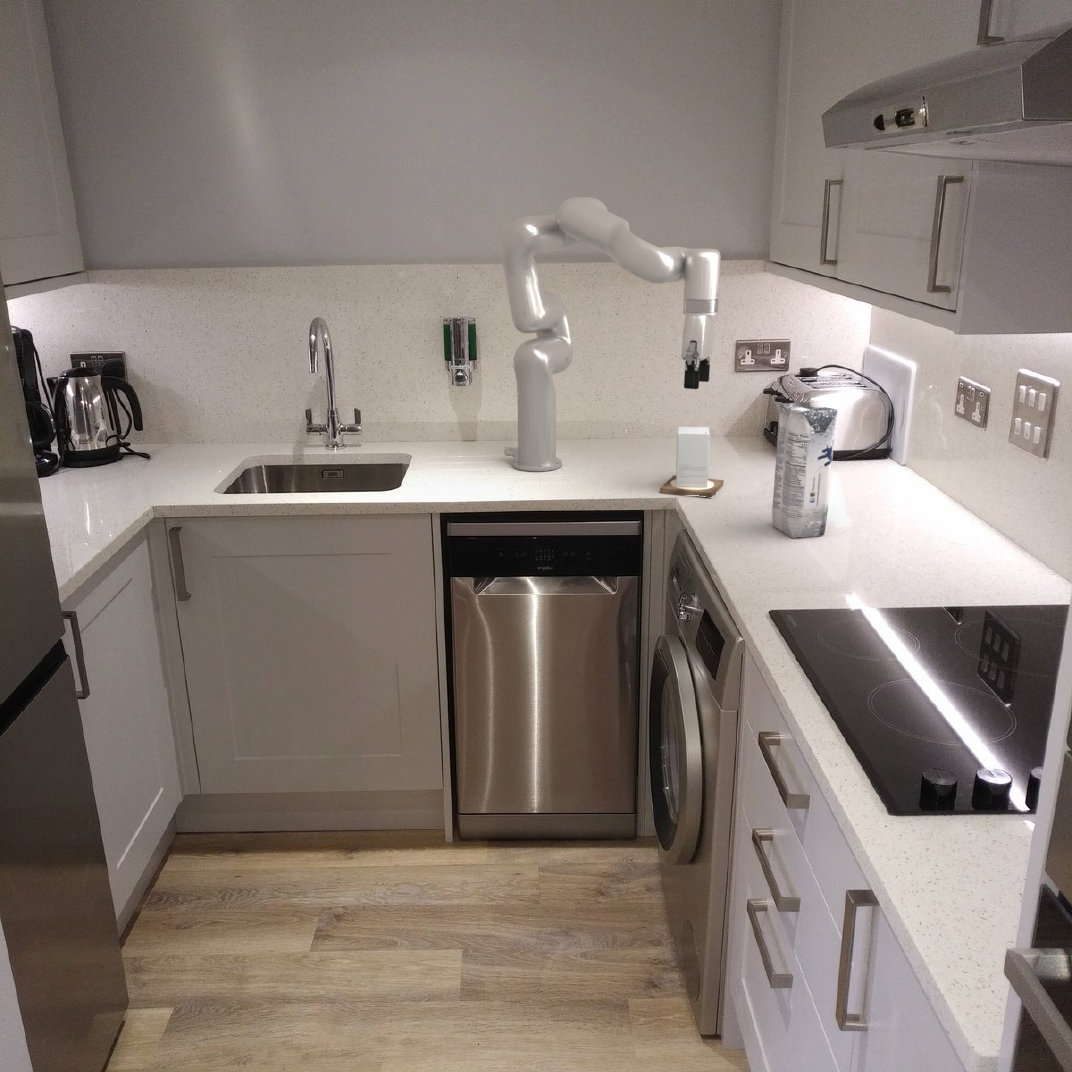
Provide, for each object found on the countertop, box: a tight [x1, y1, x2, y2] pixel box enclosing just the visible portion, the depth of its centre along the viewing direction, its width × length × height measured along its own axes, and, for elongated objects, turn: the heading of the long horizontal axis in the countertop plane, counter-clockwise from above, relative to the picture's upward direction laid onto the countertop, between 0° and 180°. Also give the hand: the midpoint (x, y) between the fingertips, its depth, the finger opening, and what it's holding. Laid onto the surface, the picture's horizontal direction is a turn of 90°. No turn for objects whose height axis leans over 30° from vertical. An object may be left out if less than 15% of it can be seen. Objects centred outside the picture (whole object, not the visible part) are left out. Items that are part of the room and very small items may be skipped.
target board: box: [659, 474, 724, 497], centre depth 235 cm, size 12×12×1 cm
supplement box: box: [675, 426, 711, 487], centre depth 233 cm, size 7×7×13 cm
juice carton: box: [771, 397, 838, 539], centre depth 201 cm, size 9×10×27 cm
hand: (696, 384), depth 227 cm, fingers open, 9 cm apart
